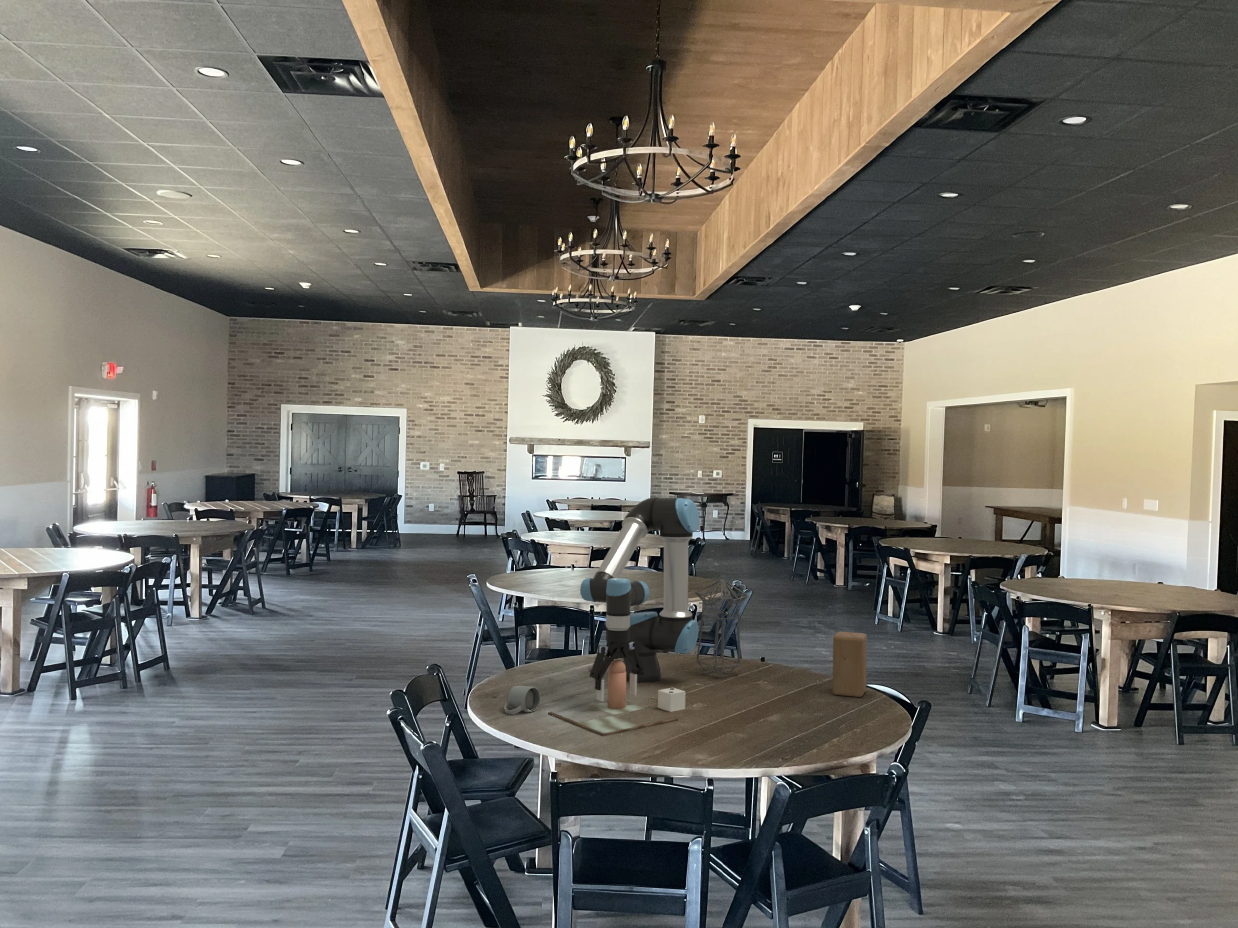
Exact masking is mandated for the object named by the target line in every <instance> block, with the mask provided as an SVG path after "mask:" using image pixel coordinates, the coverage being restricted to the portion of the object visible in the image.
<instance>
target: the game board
mask: <svg viewBox="0 0 1238 928" xmlns="http://www.w3.org/2000/svg"><path fill="white" fill-rule="evenodd" d="M587 706H588V707H591V708H594V709H596V710H599V711H601V712H604V713H606V714H609V715H610V716H605V717H600V718H594V719H590V720H585V721H579V722H578V721H575V720H573V719H570V718H567V717H565V716H562V715H560V714H557V713H554V712H552V711H549V712H547V714H548V715H549V714H550V716H552V715H553V716H552V717H554V716H555V717H554V718H557V719H559V720H562V721H565V722H567V723H570V724H572V725H575V726H577V727H579V728H582V729H585V730H587V731H589V732H592V733H594V734H597V735H600V736H601V737H606V736H610V735H614V734H615V735H616V734H618V733H625V732H630V731H634V730H640V729H644V728H649V727H654V726H658V725H664V724H667V723H672V722H678V721H679V718H677V717H673V718H668V719H664V720H659V721H655V722H650V723H644V724H640V725H639V724H636V723H633V722H630V721H628V720H626V719H621V718H619V717H616V716H614V715H620V714H624V713H628V712H629V713H630V712H635V711H639V710H644V709H645V710H646V709H647V708H646V707H645V706H644V707H643V706H641V705H638V704H635V703H631V702H628V701H626V708H624V709H611V708H608V701H606V702H604V701H603V702H600V703H599V702H598V703H594V704H588V705H587Z"/></svg>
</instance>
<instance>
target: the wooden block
mask: <svg viewBox="0 0 1238 928" xmlns="http://www.w3.org/2000/svg"><path fill="white" fill-rule="evenodd" d="M867 640H868V636H867V634H866V633H863V632H853V631H841V630H840V631H838V632H836V633H835V634H834V636H833V637H832V694H833V695H836V696H845V697H852V698H853V697H855V698H862V697H863V696H864V694H865V693H866V690H867V659H868V658H867V653H868V652H867V651H868V650H867V648H868V641H867Z"/></svg>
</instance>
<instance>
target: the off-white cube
mask: <svg viewBox="0 0 1238 928" xmlns="http://www.w3.org/2000/svg"><path fill="white" fill-rule="evenodd" d="M657 708H658V709H661V710H663V711H667V712H670V713H672V712H676V711H677V712H678V711H681V710H686V691H685V690H683V689H682V690H681V689H678V688H675V687H670V688H662V689H658V690H657Z"/></svg>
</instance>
